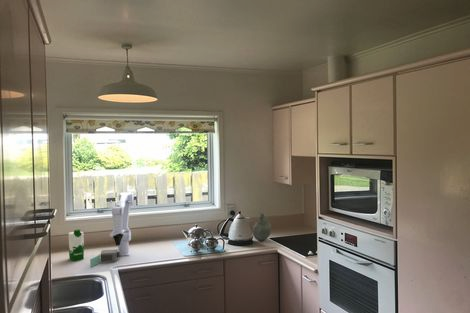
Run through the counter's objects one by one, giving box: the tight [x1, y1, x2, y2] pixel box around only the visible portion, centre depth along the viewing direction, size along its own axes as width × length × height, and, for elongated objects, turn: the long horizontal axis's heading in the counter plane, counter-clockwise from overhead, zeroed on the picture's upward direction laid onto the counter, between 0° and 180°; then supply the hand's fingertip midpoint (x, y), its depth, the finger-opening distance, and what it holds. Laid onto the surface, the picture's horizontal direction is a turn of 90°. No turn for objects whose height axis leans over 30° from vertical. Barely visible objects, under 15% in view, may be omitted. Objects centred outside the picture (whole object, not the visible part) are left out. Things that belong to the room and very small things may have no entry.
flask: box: [252, 212, 272, 242], centre depth 300 cm, size 12×17×22 cm
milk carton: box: [68, 229, 85, 262], centre depth 253 cm, size 9×9×20 cm
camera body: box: [100, 248, 121, 264], centre depth 251 cm, size 8×12×6 cm
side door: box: [89, 254, 101, 268], centre depth 242 cm, size 1×10×5 cm, turn 166°
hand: (117, 245), depth 249 cm, fingers closed
